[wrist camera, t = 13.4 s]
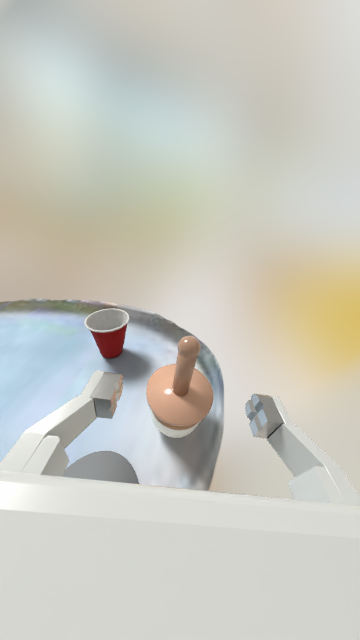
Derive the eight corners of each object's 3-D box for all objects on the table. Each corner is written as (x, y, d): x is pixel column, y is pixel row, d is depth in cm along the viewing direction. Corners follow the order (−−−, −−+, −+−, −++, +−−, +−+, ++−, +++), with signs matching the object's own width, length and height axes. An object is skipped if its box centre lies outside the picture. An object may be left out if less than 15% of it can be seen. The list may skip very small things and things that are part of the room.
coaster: (-6, 654, 15) (-8, 655, 15) (45, 467, 25) (45, 466, 25) (145, 569, 19) (145, 569, 19) (135, 441, 30) (135, 440, 30)
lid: (153, 437, 23) (158, 379, 17) (142, 371, 32) (143, 319, 26) (224, 415, 27) (251, 362, 21) (196, 363, 36) (208, 315, 30)
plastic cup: (88, 344, 49) (81, 310, 43) (124, 337, 55) (123, 305, 49) (93, 370, 42) (85, 333, 36) (134, 359, 47) (134, 324, 41)
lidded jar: (201, 402, 38) (210, 376, 34) (194, 456, 29) (206, 431, 25) (158, 390, 40) (161, 362, 35) (139, 437, 31) (140, 410, 26)
